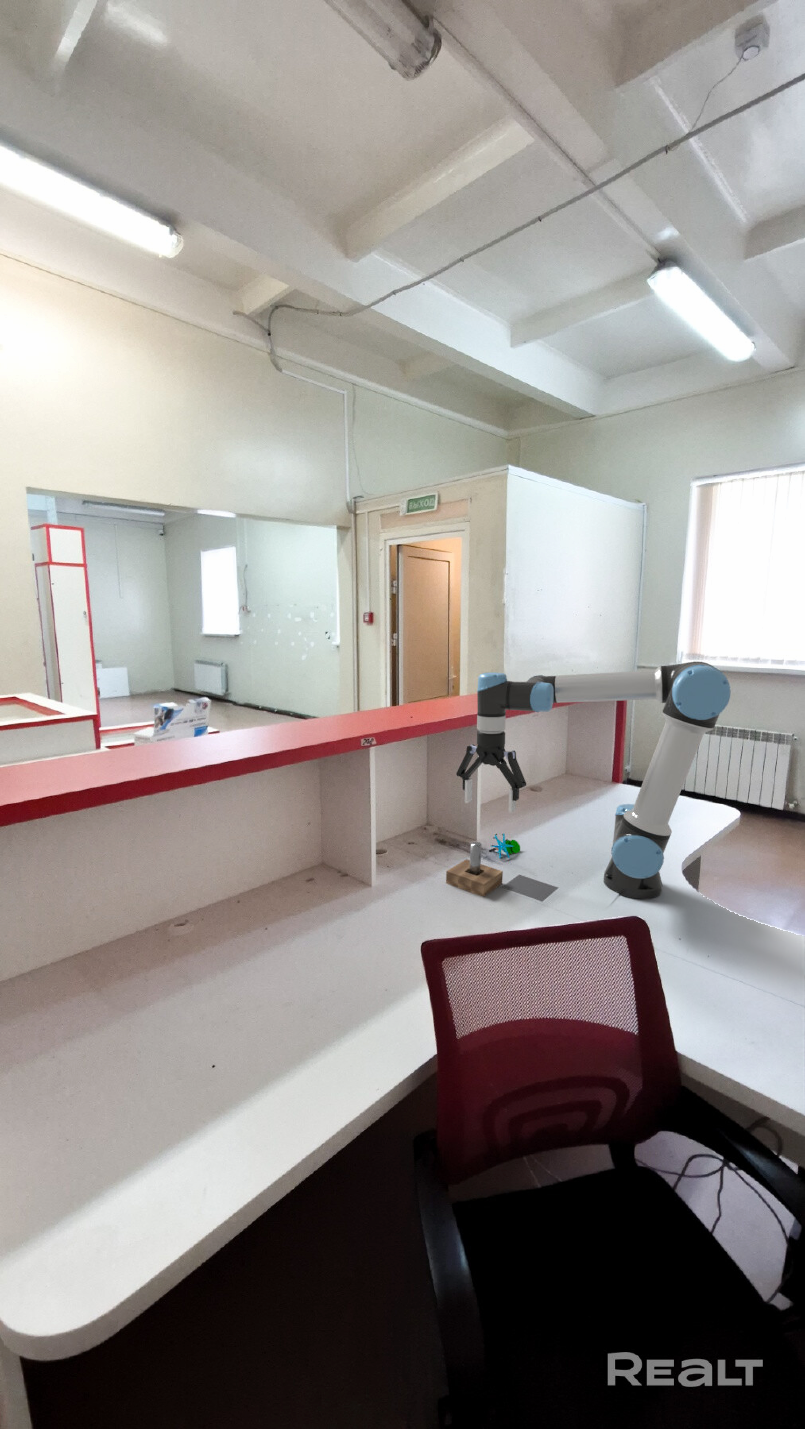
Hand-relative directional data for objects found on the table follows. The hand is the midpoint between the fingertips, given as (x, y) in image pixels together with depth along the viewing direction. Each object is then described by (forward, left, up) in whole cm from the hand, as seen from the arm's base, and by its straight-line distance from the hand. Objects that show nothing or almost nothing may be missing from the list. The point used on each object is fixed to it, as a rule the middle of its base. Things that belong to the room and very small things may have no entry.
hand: (489, 806), depth 160 cm
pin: (+2, +4, -22) cm, 23 cm away
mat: (-11, -4, -22) cm, 25 cm away
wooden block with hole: (+2, +4, -22) cm, 22 cm away
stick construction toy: (+6, -20, -23) cm, 31 cm away
